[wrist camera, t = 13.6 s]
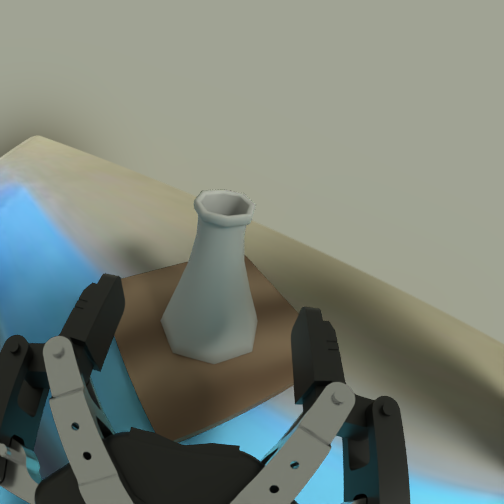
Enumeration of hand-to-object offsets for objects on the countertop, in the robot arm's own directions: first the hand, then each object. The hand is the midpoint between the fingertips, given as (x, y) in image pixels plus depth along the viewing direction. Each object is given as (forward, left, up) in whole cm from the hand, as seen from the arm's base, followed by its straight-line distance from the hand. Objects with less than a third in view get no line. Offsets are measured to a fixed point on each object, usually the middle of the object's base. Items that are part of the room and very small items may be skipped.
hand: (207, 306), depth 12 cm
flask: (+4, -3, -8) cm, 9 cm away
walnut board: (+4, -3, -8) cm, 10 cm away
